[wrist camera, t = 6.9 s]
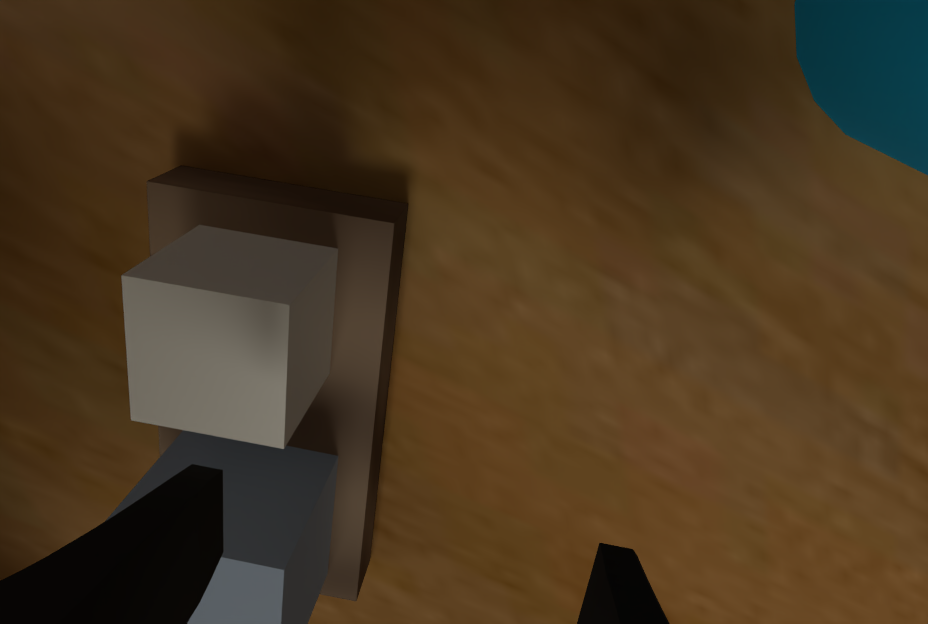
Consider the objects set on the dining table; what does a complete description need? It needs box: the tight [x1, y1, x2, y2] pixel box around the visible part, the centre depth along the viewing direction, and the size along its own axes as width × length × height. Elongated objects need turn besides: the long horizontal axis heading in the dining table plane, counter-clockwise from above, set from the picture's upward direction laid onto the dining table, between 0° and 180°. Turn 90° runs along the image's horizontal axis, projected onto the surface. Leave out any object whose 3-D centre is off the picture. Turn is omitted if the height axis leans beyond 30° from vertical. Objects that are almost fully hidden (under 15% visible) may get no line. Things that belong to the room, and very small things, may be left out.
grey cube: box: [106, 430, 338, 624], centre depth 22 cm, size 5×5×5 cm
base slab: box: [147, 166, 408, 601], centre depth 24 cm, size 14×7×2 cm, turn 172°
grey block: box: [121, 225, 338, 449], centre depth 19 cm, size 4×4×4 cm
